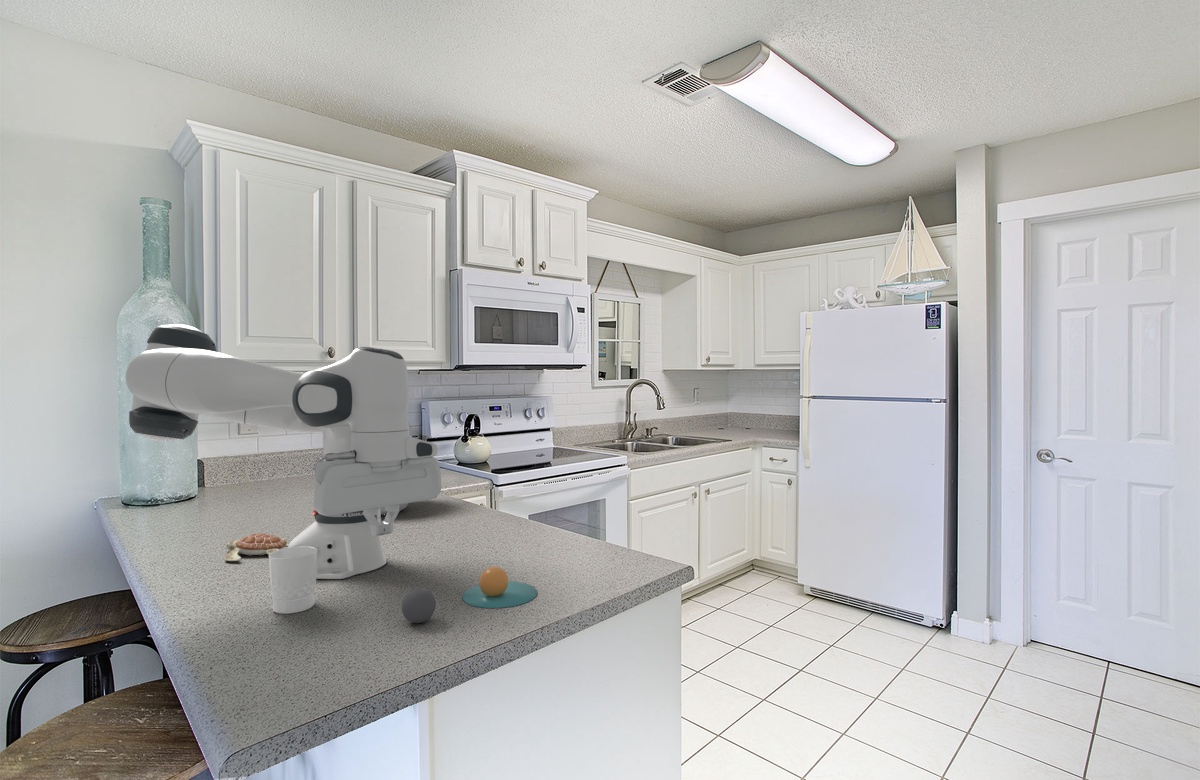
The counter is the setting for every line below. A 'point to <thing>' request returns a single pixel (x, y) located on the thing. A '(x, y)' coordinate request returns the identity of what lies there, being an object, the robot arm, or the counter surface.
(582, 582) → the counter surface
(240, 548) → the decorative turtle
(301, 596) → the white cup
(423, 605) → the dark gray ball
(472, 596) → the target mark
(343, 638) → the counter surface
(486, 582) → the object ball
